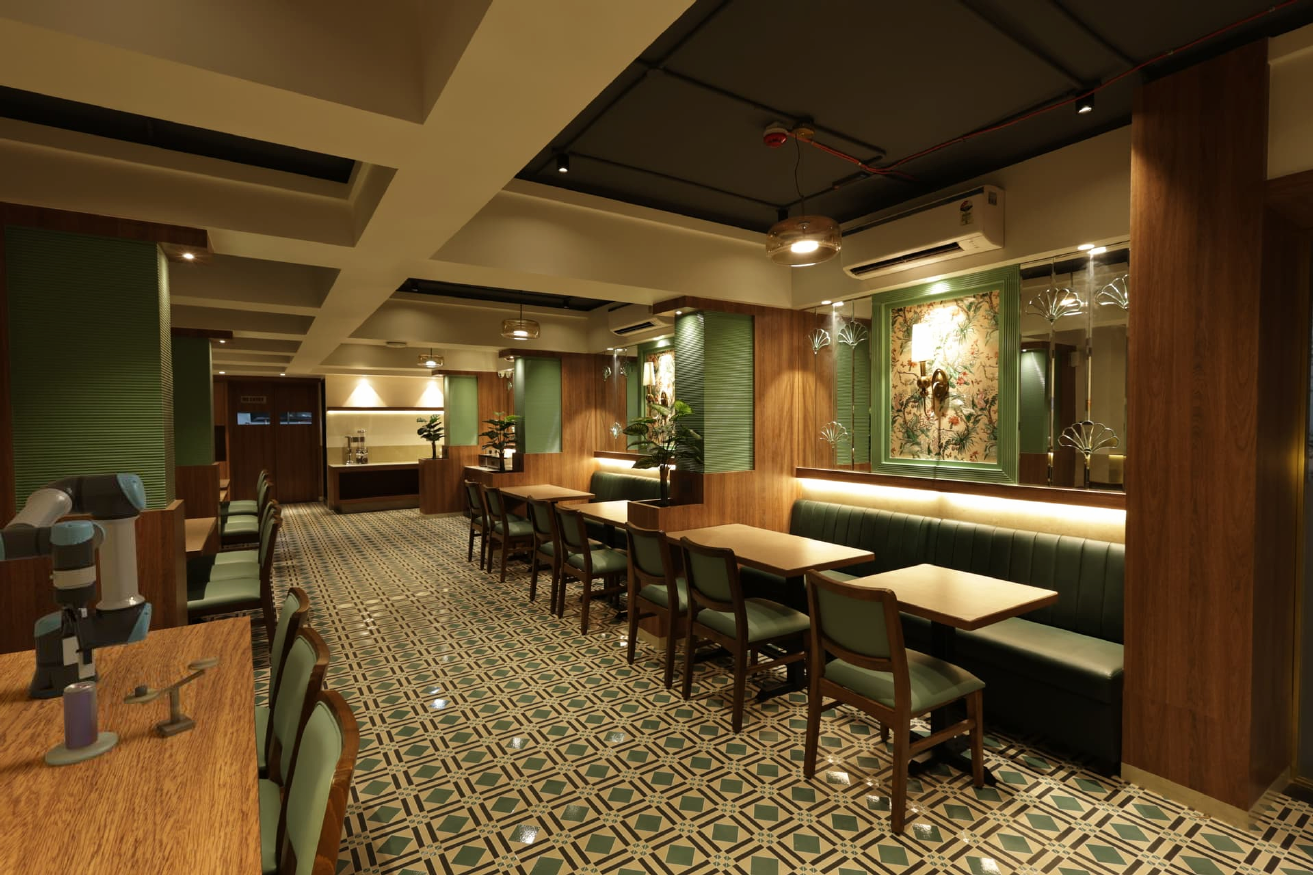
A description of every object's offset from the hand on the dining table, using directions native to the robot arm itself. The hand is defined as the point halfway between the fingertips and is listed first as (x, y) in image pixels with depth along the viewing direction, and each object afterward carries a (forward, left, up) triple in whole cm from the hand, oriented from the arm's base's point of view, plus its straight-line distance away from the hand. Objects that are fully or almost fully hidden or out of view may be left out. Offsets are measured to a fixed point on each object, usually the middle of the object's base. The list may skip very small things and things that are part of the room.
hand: (79, 669), depth 149 cm
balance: (+6, +17, -20) cm, 27 cm away
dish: (0, 0, -20) cm, 20 cm away
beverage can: (0, 0, -19) cm, 19 cm away
